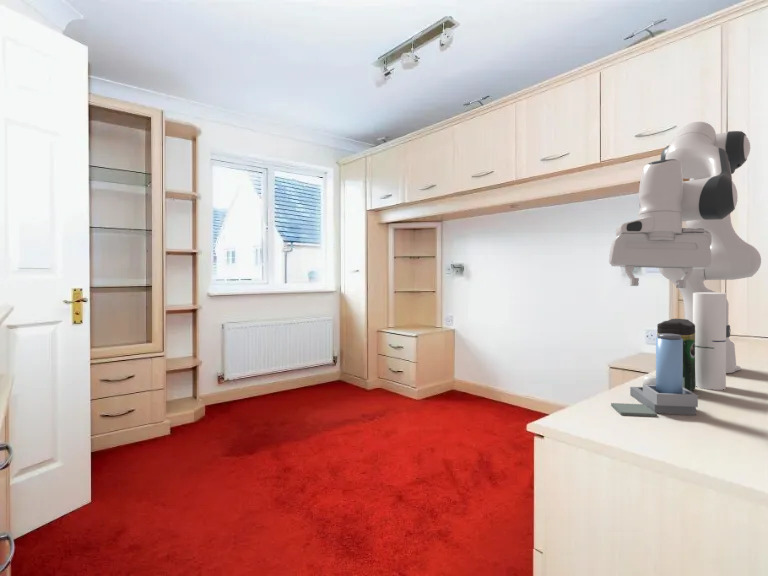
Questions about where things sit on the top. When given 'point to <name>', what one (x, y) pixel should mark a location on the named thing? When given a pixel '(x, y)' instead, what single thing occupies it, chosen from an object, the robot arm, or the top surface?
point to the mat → (633, 409)
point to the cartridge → (669, 364)
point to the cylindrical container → (710, 340)
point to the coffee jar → (688, 336)
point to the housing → (666, 400)
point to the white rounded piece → (649, 380)
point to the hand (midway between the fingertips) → (657, 286)
